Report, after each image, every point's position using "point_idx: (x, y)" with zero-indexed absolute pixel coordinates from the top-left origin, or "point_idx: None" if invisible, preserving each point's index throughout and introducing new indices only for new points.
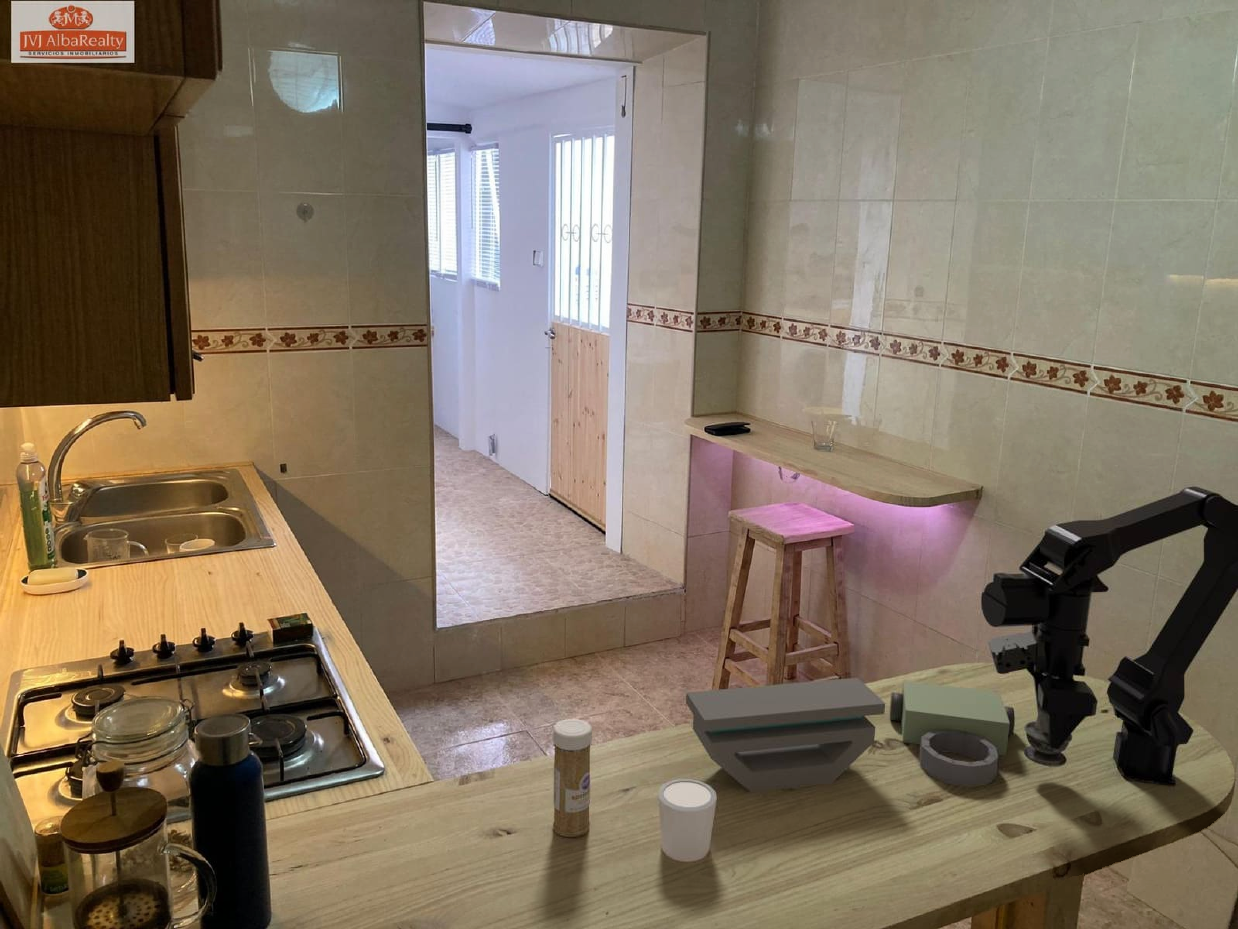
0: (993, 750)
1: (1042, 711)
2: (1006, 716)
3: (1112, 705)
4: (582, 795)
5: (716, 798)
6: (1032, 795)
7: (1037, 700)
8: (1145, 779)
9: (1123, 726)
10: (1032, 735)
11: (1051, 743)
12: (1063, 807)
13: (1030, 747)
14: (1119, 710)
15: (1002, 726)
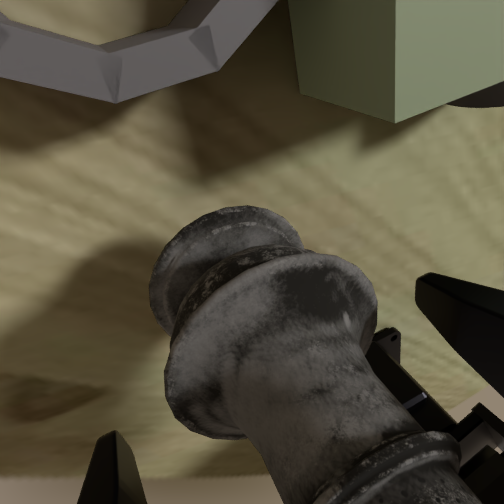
0: (175, 64)
1: (314, 470)
2: (458, 93)
3: (495, 462)
4: None
5: None
6: (57, 241)
7: (501, 319)
8: None
9: (434, 425)
10: (192, 328)
11: (89, 472)
12: (52, 333)
13: (253, 234)
14: (467, 484)
15: (380, 84)
